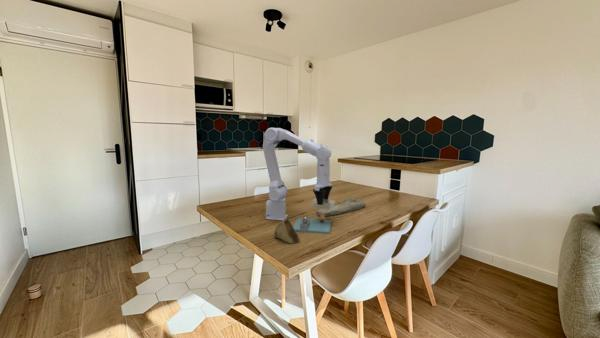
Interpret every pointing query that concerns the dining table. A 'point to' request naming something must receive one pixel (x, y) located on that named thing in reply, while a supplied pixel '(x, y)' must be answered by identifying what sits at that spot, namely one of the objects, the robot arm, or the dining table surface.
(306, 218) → the metal knob block
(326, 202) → the silver block with hole
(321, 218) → the copper cylinder peg
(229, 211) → the dining table surface
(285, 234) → the rock
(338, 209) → the long grey stone
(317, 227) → the board
